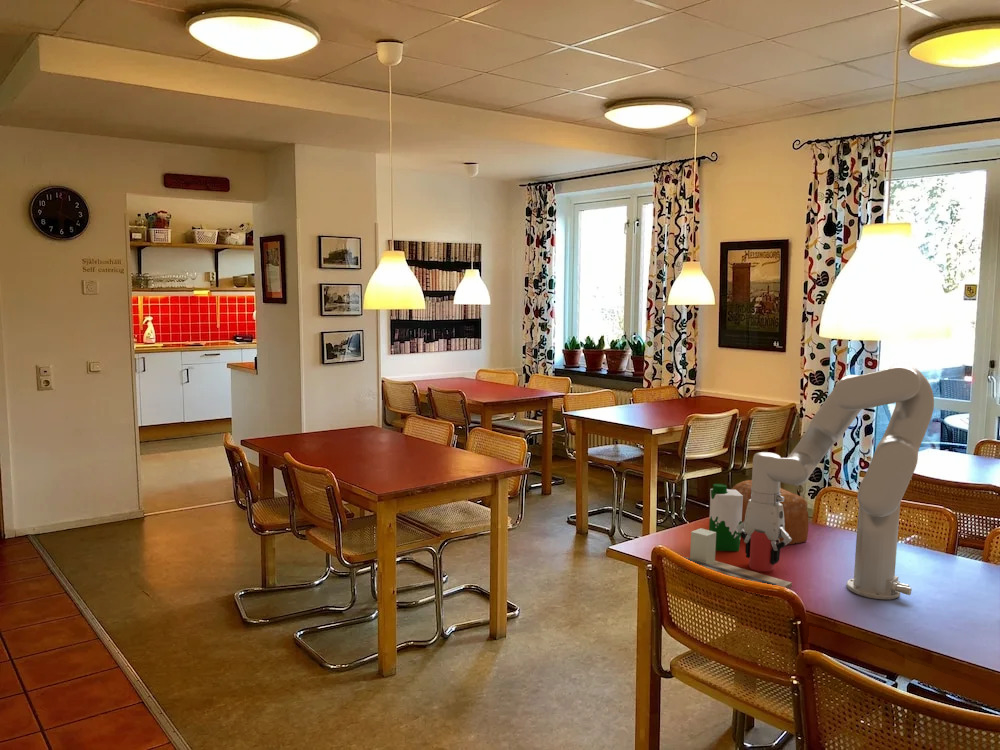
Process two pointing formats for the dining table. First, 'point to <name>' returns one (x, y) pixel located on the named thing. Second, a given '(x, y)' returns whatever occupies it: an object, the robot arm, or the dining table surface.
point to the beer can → (760, 552)
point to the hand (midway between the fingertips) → (761, 559)
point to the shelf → (743, 573)
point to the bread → (792, 511)
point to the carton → (703, 546)
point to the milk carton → (725, 517)
